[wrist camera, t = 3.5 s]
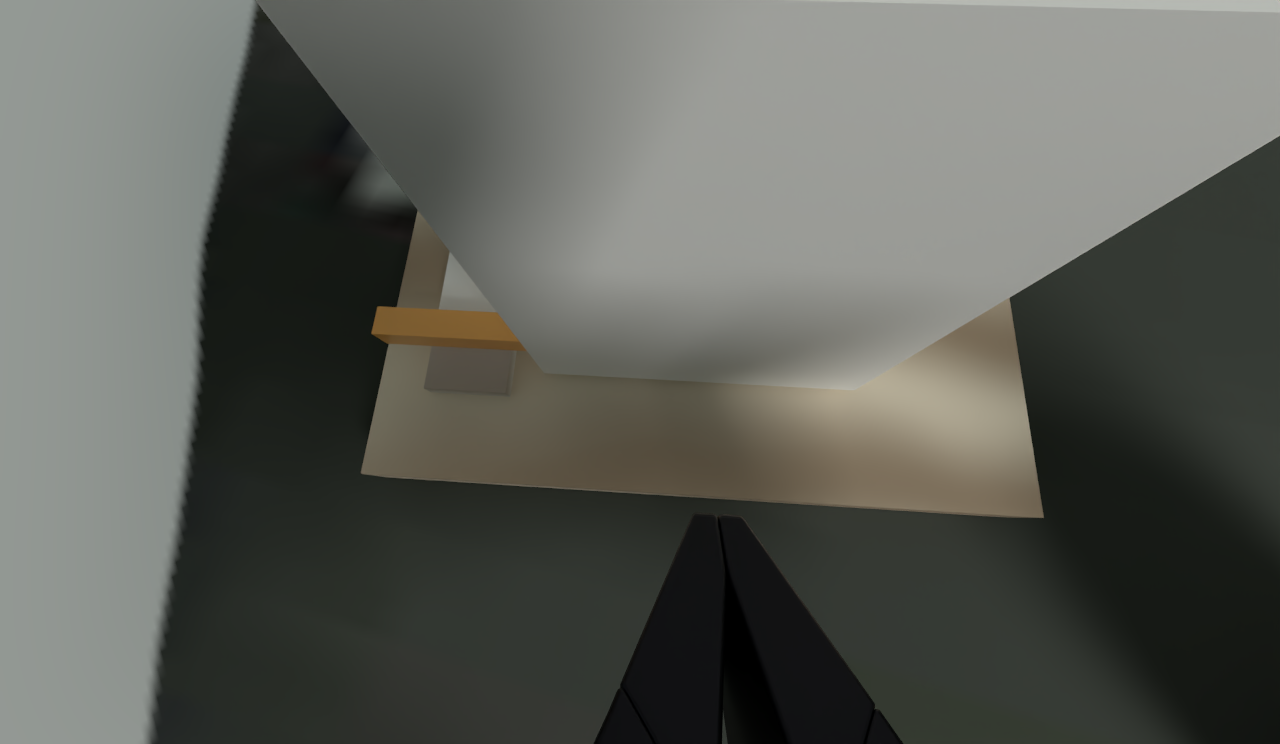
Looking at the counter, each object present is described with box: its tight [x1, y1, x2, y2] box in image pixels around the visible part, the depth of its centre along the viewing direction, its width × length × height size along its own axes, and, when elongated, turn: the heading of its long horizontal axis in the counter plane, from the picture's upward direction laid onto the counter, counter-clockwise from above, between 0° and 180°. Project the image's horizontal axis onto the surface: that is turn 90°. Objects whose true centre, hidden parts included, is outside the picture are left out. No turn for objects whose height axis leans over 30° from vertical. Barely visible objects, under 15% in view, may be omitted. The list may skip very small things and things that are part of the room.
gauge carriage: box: [255, 0, 1280, 390], centre depth 10 cm, size 6×13×11 cm, turn 86°
